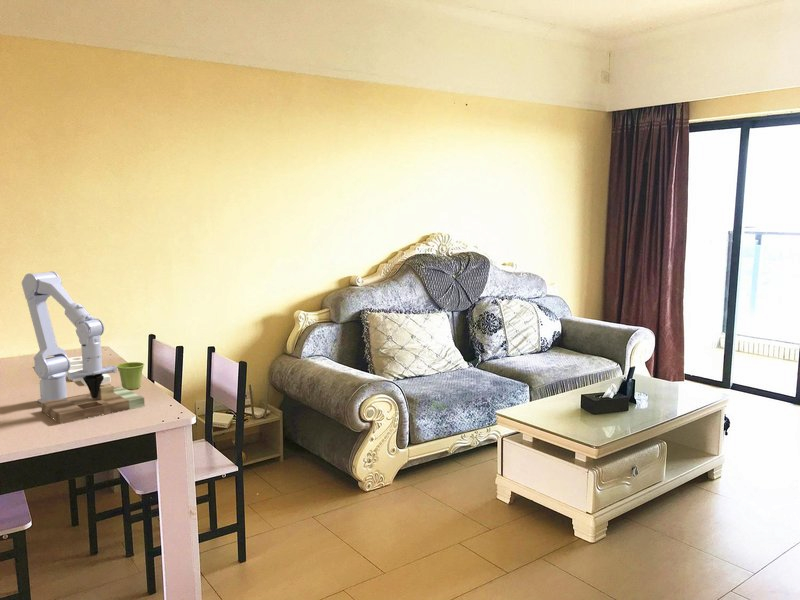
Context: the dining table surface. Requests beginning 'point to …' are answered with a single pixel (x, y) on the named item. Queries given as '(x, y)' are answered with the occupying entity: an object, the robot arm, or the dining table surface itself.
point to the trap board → (91, 405)
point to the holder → (77, 366)
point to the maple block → (106, 391)
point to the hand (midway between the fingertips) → (94, 397)
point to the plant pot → (130, 374)
